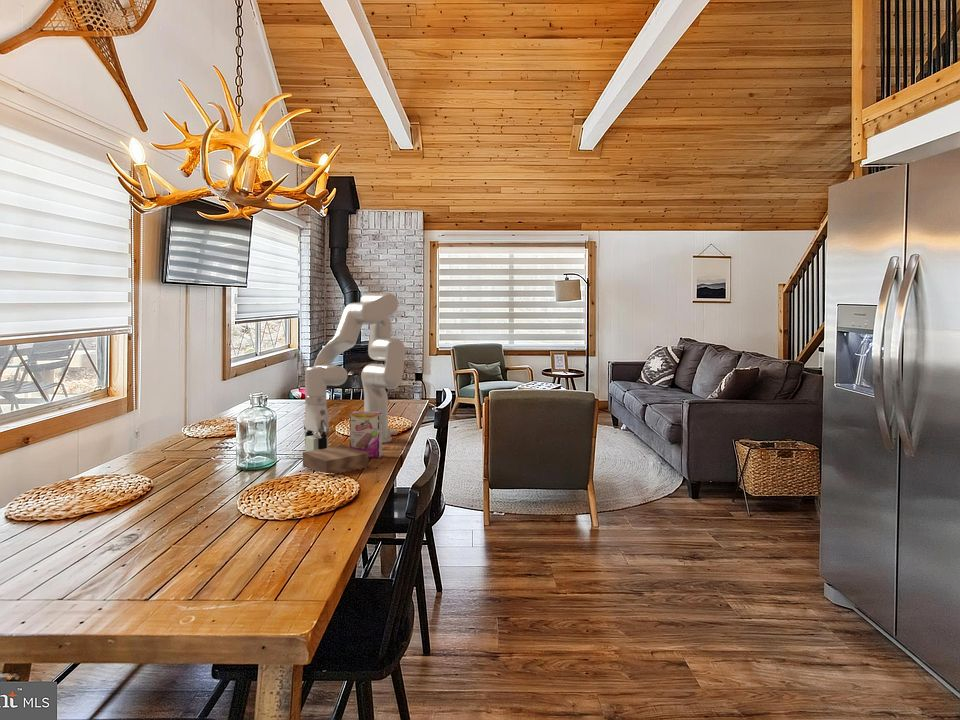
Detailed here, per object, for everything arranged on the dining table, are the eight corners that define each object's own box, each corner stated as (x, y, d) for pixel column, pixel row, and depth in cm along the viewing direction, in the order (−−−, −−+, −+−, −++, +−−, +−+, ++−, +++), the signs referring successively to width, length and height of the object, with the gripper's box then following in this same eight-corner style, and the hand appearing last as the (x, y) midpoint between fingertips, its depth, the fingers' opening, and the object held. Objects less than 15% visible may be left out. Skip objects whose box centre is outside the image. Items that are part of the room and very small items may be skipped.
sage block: (320, 452, 238) (320, 434, 237) (328, 455, 233) (328, 436, 233) (305, 455, 233) (305, 436, 233) (313, 458, 229) (313, 439, 228)
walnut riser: (343, 459, 227) (343, 445, 227) (368, 467, 216) (368, 453, 215) (302, 466, 216) (302, 452, 216) (326, 476, 205) (326, 460, 204)
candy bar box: (349, 457, 230) (348, 413, 228) (353, 454, 235) (352, 410, 233) (379, 458, 229) (379, 413, 227) (383, 455, 234) (382, 411, 232)
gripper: (337, 402, 228) (337, 449, 229) (313, 397, 240) (313, 441, 241) (318, 404, 223) (318, 451, 224) (295, 398, 235) (295, 444, 236)
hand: (315, 446), depth 233 cm, fingers open, 9 cm apart
